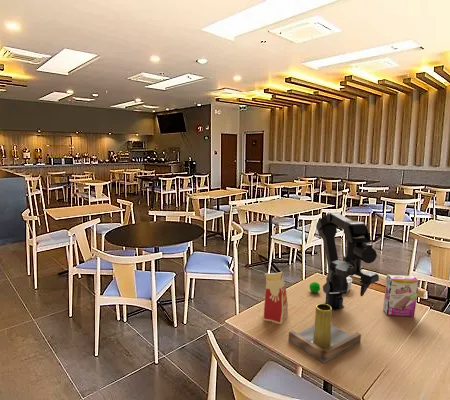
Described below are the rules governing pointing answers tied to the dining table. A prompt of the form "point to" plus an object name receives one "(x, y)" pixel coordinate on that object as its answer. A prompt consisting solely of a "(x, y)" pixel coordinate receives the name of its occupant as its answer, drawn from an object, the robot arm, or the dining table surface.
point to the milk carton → (275, 298)
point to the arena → (338, 346)
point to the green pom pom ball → (314, 287)
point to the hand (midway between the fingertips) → (351, 291)
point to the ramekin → (349, 282)
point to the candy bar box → (400, 295)
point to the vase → (322, 326)
